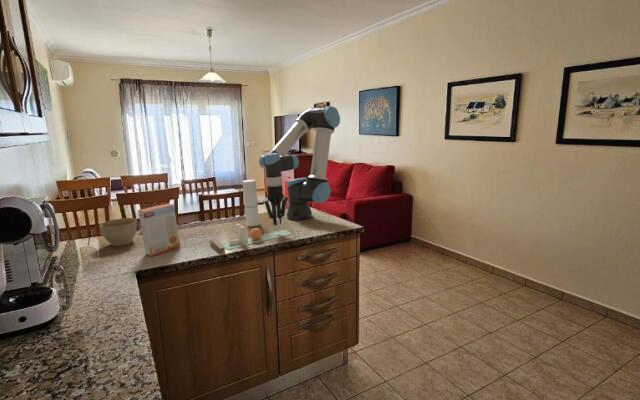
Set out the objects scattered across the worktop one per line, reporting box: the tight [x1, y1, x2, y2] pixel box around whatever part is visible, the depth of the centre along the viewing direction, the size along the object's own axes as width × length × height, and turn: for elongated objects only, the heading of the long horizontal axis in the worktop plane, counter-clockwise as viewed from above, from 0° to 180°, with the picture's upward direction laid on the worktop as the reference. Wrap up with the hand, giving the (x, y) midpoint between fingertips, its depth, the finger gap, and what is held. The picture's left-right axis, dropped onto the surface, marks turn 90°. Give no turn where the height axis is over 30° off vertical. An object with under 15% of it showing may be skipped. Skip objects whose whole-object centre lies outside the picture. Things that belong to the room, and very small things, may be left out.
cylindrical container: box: [242, 179, 260, 227], centre depth 191 cm, size 7×7×25 cm
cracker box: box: [137, 203, 181, 257], centre depth 156 cm, size 14×6×21 cm, turn 141°
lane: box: [220, 229, 293, 250], centre depth 168 cm, size 34×9×1 cm, turn 123°
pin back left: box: [239, 225, 247, 246], centre depth 161 cm, size 2×2×8 cm
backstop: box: [209, 238, 226, 254], centre depth 158 cm, size 2×16×2 cm, turn 33°
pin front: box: [228, 236, 249, 246], centre depth 163 cm, size 2×2×8 cm
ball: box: [249, 227, 263, 240], centre depth 167 cm, size 6×6×6 cm
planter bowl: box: [99, 217, 138, 247], centre depth 171 cm, size 16×16×11 cm
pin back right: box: [235, 223, 242, 239], centre depth 165 cm, size 2×2×8 cm
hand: (277, 230), depth 174 cm, fingers closed
